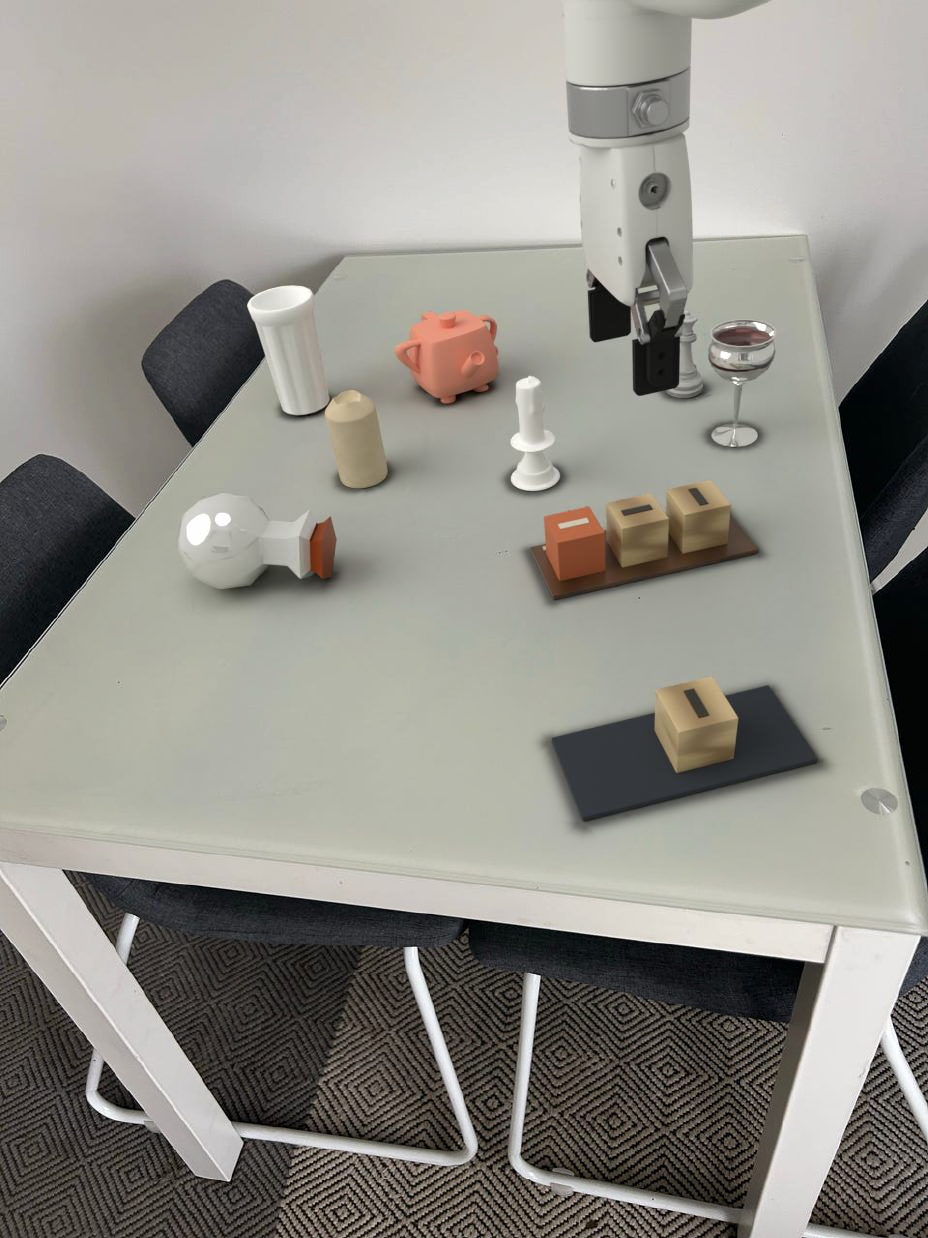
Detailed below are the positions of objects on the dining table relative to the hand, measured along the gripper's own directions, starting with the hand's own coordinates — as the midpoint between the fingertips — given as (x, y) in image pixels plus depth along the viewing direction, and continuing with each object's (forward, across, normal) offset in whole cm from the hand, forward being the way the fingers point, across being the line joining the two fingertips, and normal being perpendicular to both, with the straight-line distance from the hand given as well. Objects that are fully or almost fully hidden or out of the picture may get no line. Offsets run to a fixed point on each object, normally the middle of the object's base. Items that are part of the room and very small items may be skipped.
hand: (632, 362), depth 69 cm
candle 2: (+23, +24, +3) cm, 34 cm away
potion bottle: (+23, +17, +33) cm, 43 cm away
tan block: (+23, -17, +2) cm, 29 cm away
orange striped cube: (+23, +8, +3) cm, 24 cm away
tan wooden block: (+23, +8, -9) cm, 26 cm away
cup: (+22, +52, +26) cm, 62 cm away
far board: (+24, +8, -3) cm, 25 cm away
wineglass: (+24, +24, -20) cm, 39 cm away
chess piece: (+23, +36, -19) cm, 47 cm away
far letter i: (+23, +8, -3) cm, 24 cm away
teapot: (+23, +48, +7) cm, 54 cm away
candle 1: (+23, +32, +21) cm, 44 cm away
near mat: (+24, -17, +3) cm, 29 cm away
